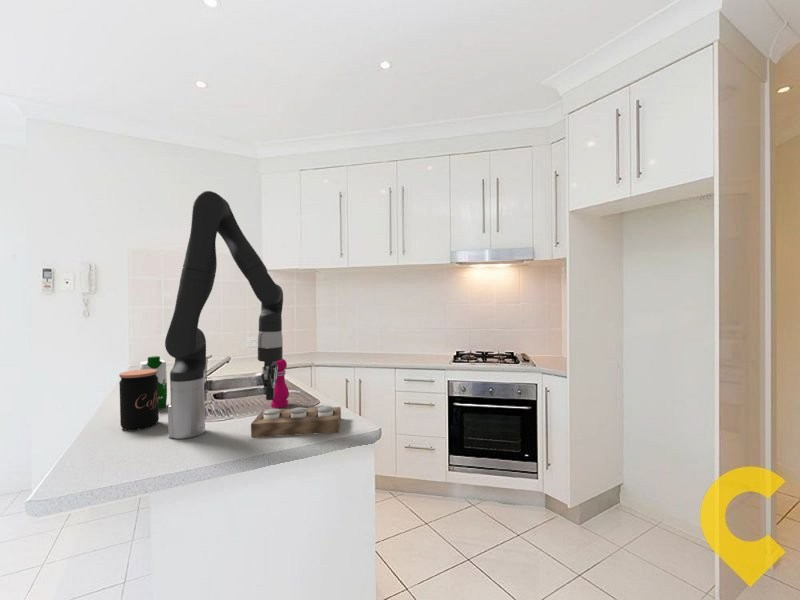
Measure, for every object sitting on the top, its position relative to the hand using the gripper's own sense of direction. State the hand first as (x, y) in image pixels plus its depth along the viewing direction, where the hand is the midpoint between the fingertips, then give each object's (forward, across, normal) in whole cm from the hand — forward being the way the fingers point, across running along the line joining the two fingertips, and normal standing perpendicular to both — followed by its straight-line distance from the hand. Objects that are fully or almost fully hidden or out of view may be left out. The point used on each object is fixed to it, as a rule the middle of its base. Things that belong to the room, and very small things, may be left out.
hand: (270, 399), depth 126 cm
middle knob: (+8, 0, +9) cm, 12 cm away
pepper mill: (+10, -27, -2) cm, 29 cm away
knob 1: (+9, 0, +1) cm, 9 cm away
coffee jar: (+11, -10, -44) cm, 47 cm away
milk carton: (+11, -33, -51) cm, 62 cm away
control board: (+9, 0, +9) cm, 13 cm away
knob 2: (+8, 0, +18) cm, 19 cm away
